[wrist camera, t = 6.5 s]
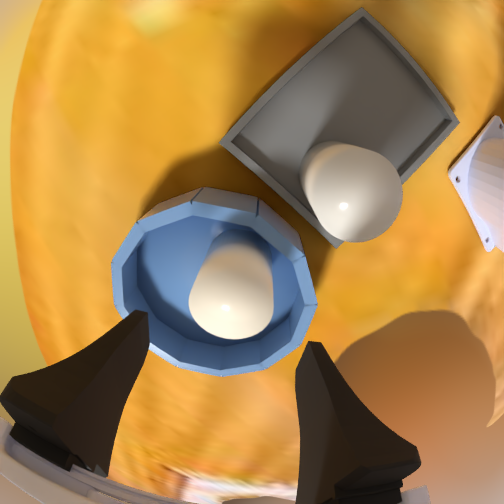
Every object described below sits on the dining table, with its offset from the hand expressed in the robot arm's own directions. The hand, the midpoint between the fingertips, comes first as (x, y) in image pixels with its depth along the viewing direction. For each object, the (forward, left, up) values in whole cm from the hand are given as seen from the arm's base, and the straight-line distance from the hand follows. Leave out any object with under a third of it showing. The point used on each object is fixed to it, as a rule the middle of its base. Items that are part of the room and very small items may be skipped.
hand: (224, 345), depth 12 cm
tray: (+1, -12, -9) cm, 15 cm away
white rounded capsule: (0, 0, -8) cm, 8 cm away
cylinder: (0, -8, -8) cm, 12 cm away
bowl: (0, +3, -9) cm, 9 cm away
